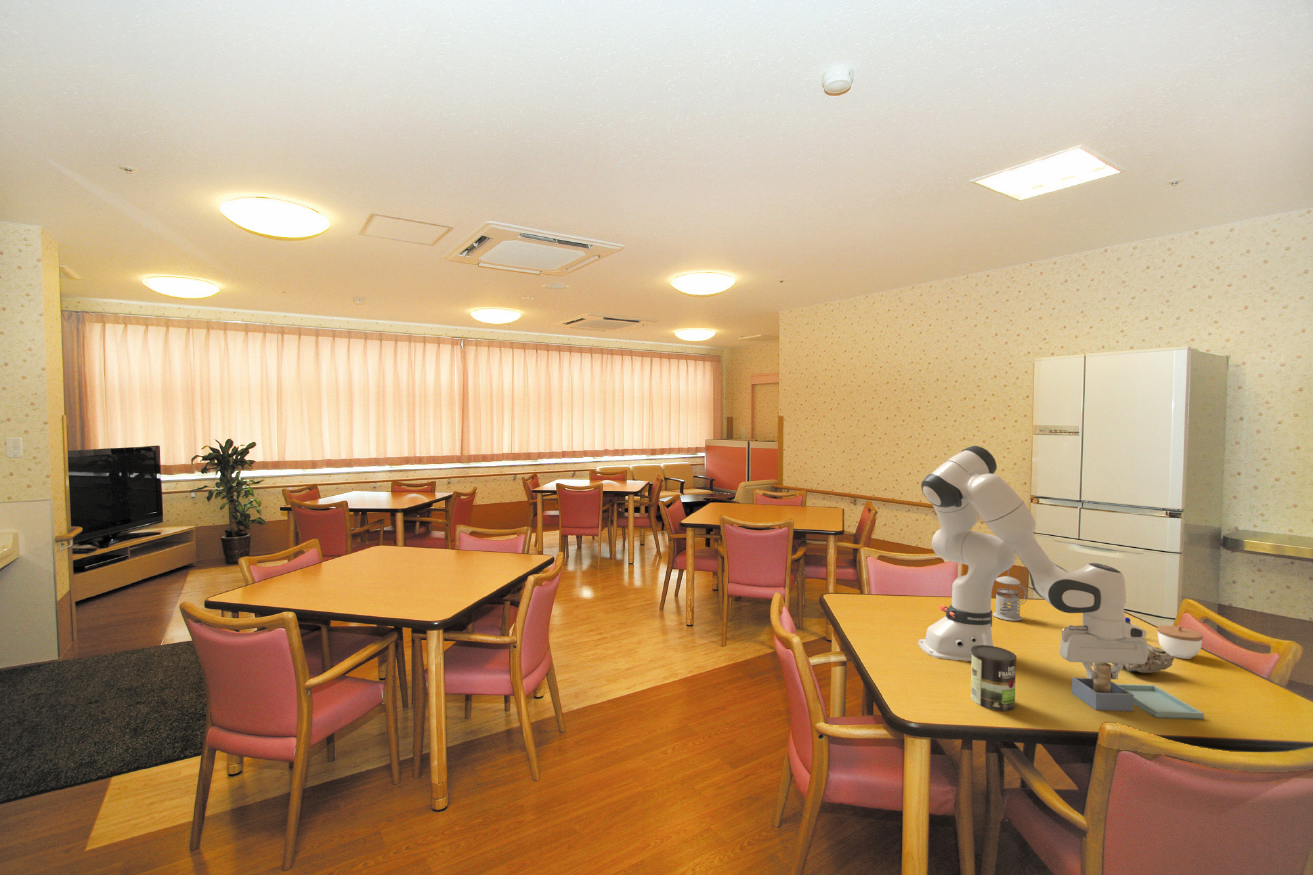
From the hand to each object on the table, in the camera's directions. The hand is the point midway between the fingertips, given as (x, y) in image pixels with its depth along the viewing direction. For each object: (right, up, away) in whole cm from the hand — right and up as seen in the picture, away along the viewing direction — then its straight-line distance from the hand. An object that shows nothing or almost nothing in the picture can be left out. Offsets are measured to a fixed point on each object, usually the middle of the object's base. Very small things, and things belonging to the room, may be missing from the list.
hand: (1102, 677), depth 150 cm
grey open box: (0, -7, 0) cm, 7 cm away
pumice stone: (+27, -7, +20) cm, 34 cm away
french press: (+18, -5, +68) cm, 71 cm away
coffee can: (-29, -7, 0) cm, 30 cm away
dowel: (0, -6, 0) cm, 6 cm away
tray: (+14, -7, -1) cm, 15 cm away
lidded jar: (+50, -7, +32) cm, 60 cm away
